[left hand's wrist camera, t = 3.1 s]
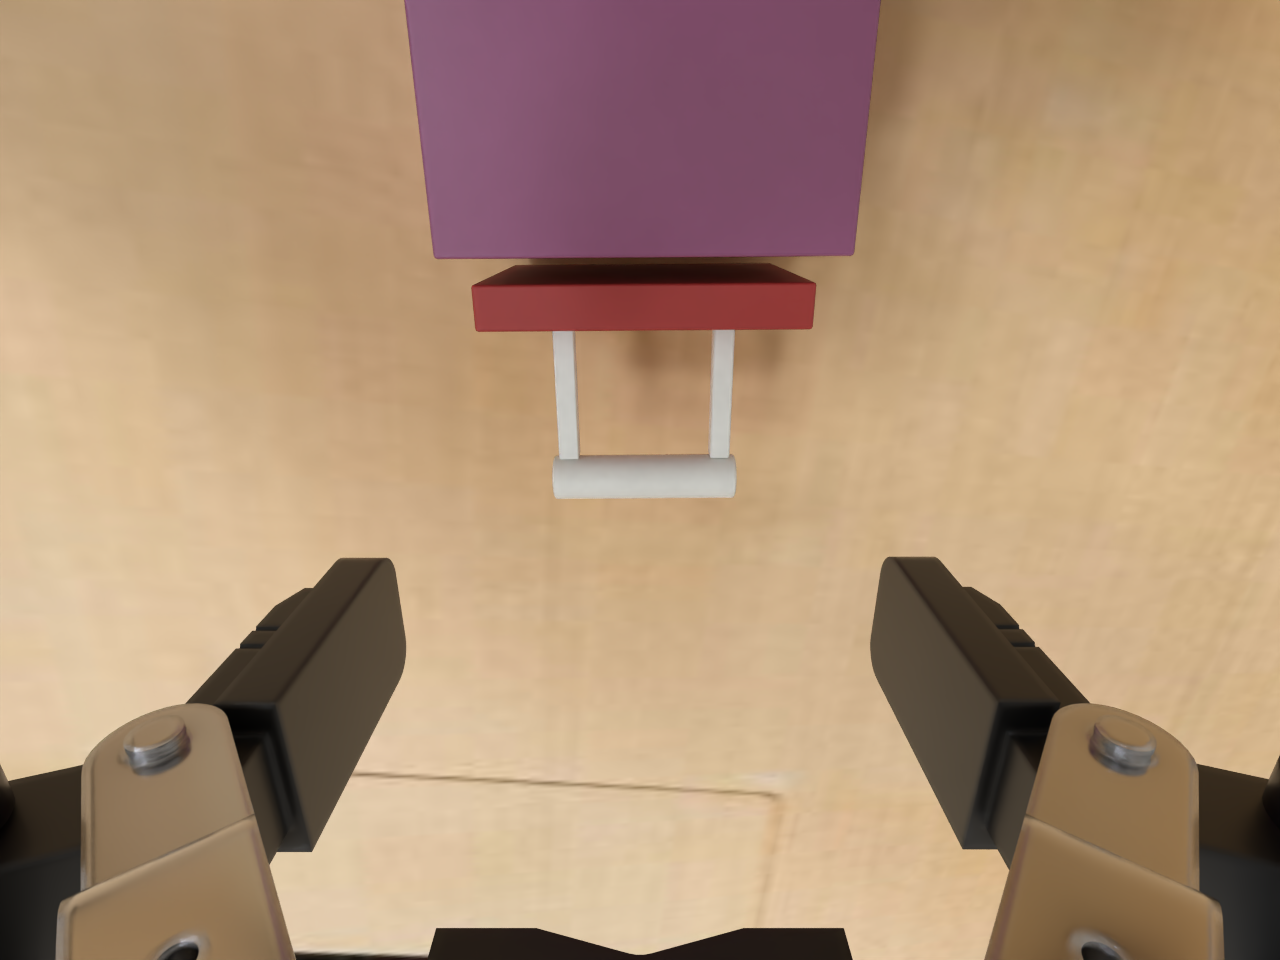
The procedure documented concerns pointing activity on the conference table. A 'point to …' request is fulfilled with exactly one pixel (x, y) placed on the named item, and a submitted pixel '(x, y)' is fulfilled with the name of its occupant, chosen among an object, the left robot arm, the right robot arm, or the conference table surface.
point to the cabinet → (642, 126)
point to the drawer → (634, 305)
